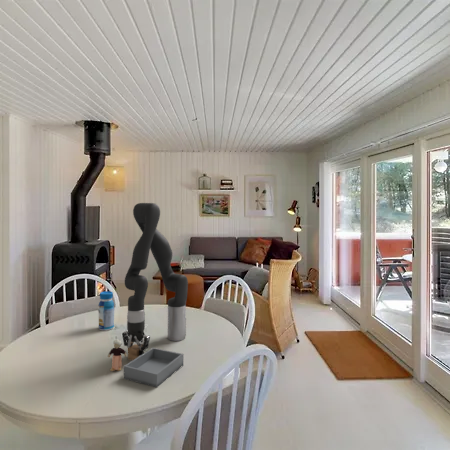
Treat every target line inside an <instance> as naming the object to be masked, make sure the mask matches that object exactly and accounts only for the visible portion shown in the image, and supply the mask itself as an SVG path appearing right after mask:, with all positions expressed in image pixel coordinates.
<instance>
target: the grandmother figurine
mask: <svg viewBox="0 0 450 450" xmlns="http://www.w3.org/2000/svg"><path fill="white" fill-rule="evenodd" d="M121 346H122V341H121V340H120V339H118V338H117V339H114V340H113V348H111V350H110V351H109V352H108V355H107V357H108V358H111V356H112V359H111V361H112V362H111V368H110V370H109V371H111V372H114V371H117V372H121V371H122V362H123V361H122V358H123V357H122V354H123V356H124V357H125V358H127V357H128V353H127V352H126V350H125V349H124V348H121Z"/></svg>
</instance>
